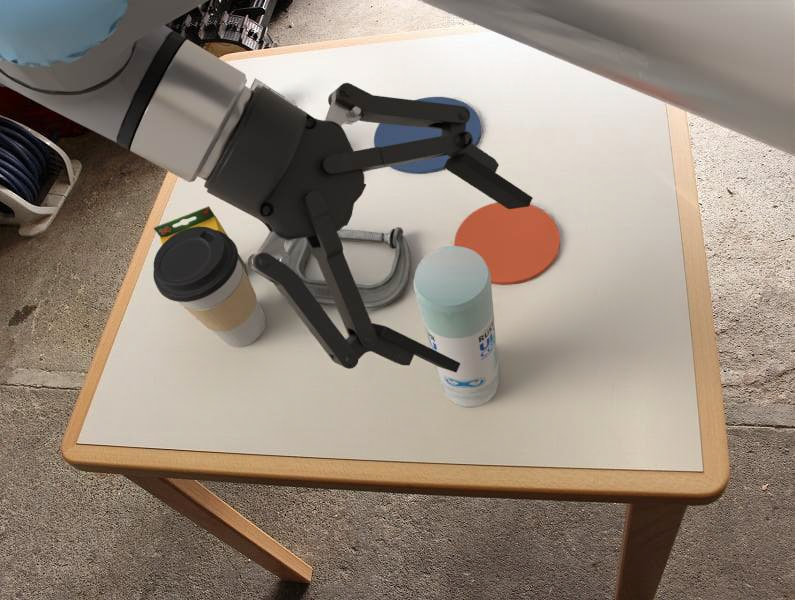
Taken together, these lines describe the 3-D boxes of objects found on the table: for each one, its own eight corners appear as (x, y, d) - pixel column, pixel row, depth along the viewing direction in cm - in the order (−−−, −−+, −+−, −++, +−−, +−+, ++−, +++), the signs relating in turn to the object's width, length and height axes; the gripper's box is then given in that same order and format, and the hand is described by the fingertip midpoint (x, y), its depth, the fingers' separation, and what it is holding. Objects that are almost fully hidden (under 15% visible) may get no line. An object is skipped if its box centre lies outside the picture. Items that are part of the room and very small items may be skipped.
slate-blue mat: (502, 140, 87) (502, 136, 87) (405, 190, 85) (405, 187, 85) (446, 86, 96) (445, 82, 96) (357, 130, 94) (356, 127, 94)
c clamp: (251, 293, 80) (243, 280, 78) (305, 196, 88) (299, 183, 86) (393, 324, 73) (388, 312, 71) (437, 217, 81) (435, 203, 79)
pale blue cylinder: (499, 410, 65) (488, 307, 48) (438, 407, 66) (408, 307, 50) (501, 356, 68) (491, 243, 52) (443, 354, 70) (416, 244, 53)
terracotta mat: (581, 251, 74) (582, 248, 74) (490, 302, 72) (490, 299, 72) (520, 189, 82) (520, 186, 81) (436, 234, 80) (435, 231, 79)
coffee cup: (287, 298, 78) (242, 221, 66) (266, 363, 73) (213, 293, 61) (221, 295, 81) (166, 220, 68) (196, 358, 76) (132, 289, 63)
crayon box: (197, 299, 81) (153, 243, 71) (193, 283, 83) (150, 227, 73) (249, 277, 81) (212, 219, 72) (244, 261, 83) (208, 203, 74)
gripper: (297, -9, 43) (520, 148, 51) (132, 310, 40) (398, 423, 48) (328, -61, 36) (580, 130, 44) (132, 320, 33) (442, 450, 41)
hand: (486, 283), depth 46 cm, fingers open, 13 cm apart
